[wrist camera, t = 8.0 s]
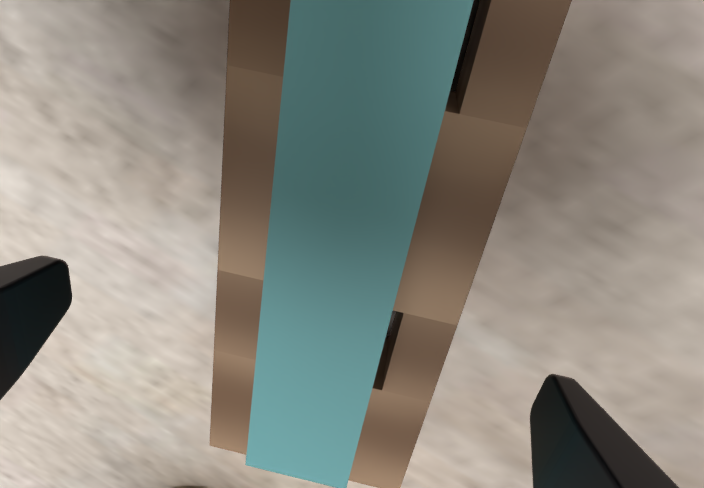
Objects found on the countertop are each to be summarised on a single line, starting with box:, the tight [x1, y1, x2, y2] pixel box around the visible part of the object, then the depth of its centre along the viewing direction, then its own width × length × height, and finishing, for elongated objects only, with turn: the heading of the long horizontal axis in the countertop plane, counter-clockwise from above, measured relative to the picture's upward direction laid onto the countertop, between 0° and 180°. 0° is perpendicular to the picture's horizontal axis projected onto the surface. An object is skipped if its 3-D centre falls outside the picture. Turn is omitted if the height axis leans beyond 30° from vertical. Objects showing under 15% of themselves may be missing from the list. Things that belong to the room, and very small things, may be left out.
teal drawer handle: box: [246, 0, 474, 488], centre depth 14 cm, size 14×3×7 cm, turn 170°
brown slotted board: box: [210, 0, 572, 488], centre depth 16 cm, size 24×8×3 cm, turn 170°
